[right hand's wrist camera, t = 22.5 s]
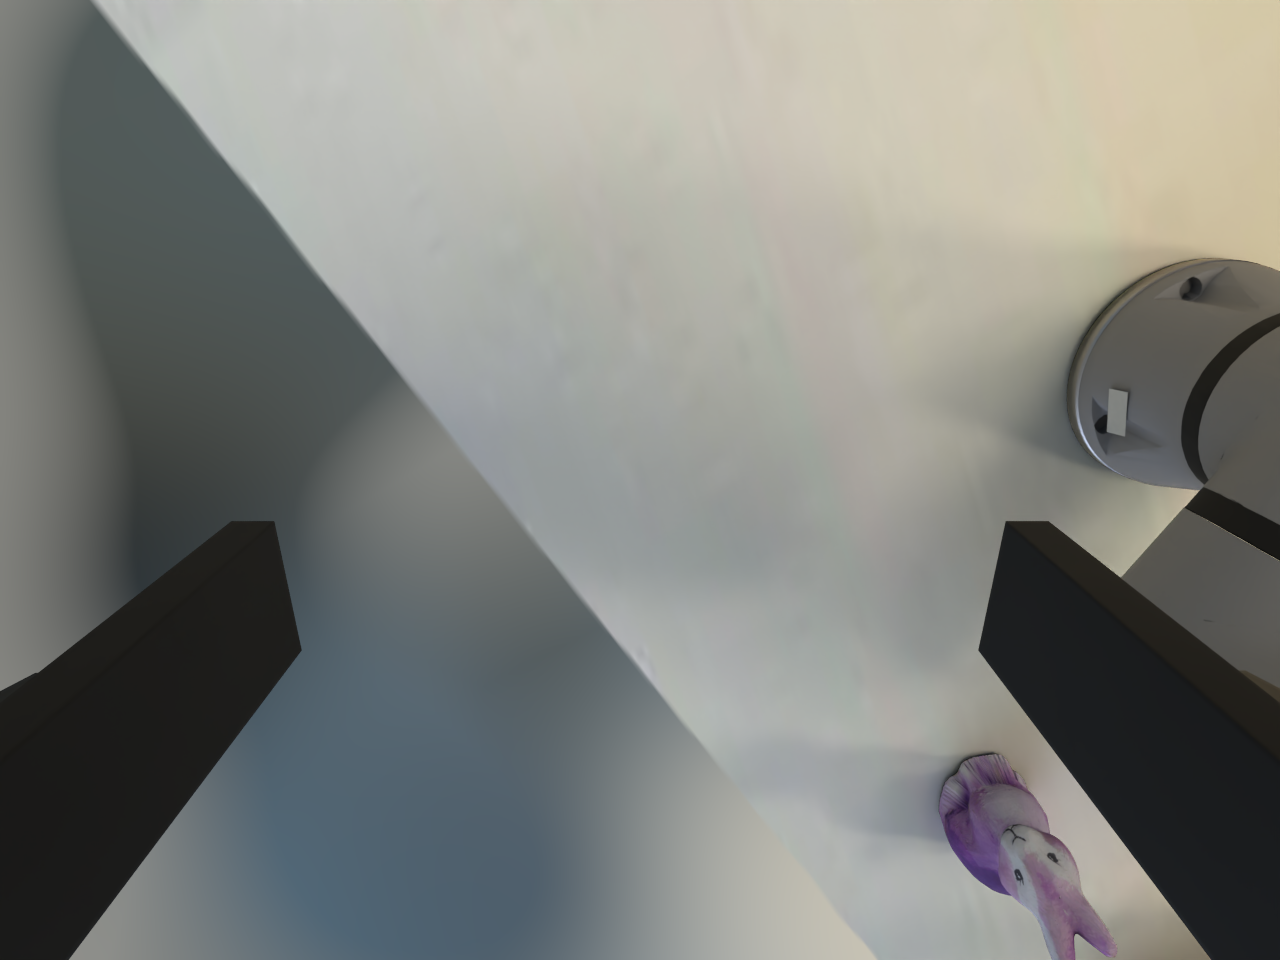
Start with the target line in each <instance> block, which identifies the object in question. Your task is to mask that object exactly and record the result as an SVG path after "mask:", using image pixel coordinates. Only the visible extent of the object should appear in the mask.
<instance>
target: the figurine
mask: <svg viewBox="0 0 1280 960" xmlns="http://www.w3.org/2000/svg"><path fill="white" fill-rule="evenodd" d="M942 790H943V791H942V793H941V797H940V804H939V813H940V816H941V820H942V823H943V826H944V830H945V833H946V835H947V838H948V841H949V843H950V845H951V847H952V849H953V851H954V852H955V854H956V855H957V857H958V858H959V859H960V861H961V862H962V863H963V864H964V866H965V867H966V868H967V869H968V870H969V871H970V873H971V874H972V875H973V876H974V877H975V878H977V879H978V880H979V881H980V882H981V883H983V884H984V885H986V886H987V887H989V888H990V889H992V890H994V891H996V892H999V893H1002V894H1006V895H1011V896H1013V897H1014V898H1015V899H1016V900H1017V901H1018V902H1020V903H1021V904H1022V905H1024V906H1025V907H1026V908H1027V909H1029V910H1030V911H1031V912H1032V913H1033V914H1034V915H1035V917H1036V918H1037V919H1038V922H1039V924H1040V926H1041V929H1042V932H1043V935H1044V938H1045V941H1046V945H1047V948H1048V950H1049V953H1050V955H1051V958H1052V960H1075V949H1074V936H1075V934H1079V935H1080V936H1081V937H1082V938H1084V939H1085V940H1086V941H1087V942H1089V943H1090V944H1091V945H1092V946H1094V947H1095V948H1096V949H1098V950H1099V951H1100V952H1102V953H1103V954H1104V955H1106V956H1108V957H1115V956H1116V954H1117V945H1116V943H1115V941H1114V938H1113V937H1112V936H1111V934H1110V931H1109V930H1108V928H1107V927H1106V926H1105V924H1104V923H1103V921H1102V920H1101V919H1100V917H1099V916H1098V914H1097V913H1096V912H1095V910H1094V909H1093V908H1092V907H1091V905H1090V904H1089V902H1088V901H1087V899H1086V898H1085V897H1084V895H1083V892H1082V890H1081V883H1080V877H1079V872H1078V868H1077V865H1076V863H1075V860H1074V858H1073V856H1072V854H1071V853H1070V851H1069V850H1068V848H1067V847H1066V846H1065V845H1064V844H1063V843H1062V842H1061V841H1060V840H1059V839H1058V838H1056V837H1055V836H1053V835H1051V834H1050V831H1049V825H1048V819H1047V816H1046V814H1045V812H1044V811H1043V809H1042V807H1041V806H1040V804H1039V803H1038V801H1037V800H1036V798H1035V797H1034V796H1033V795H1032V794H1031V793H1030V792H1029V791H1028V789H1027V787H1026V784H1025V782H1024V779H1023V778H1022V777H1021V776H1020V775H1019V774H1018V773H1017V772H1016V771H1013V770H1012V769H1011V767H1010V765H1009V762H1008V761H1007V760H1006V758H1004V757H1003V756H1002V755H997V754H992V755H985V756H979V757H973V758H971V759H968V760H967V761H964V762H963V763H962V764H961V766H960V768H959V770H958V772H957V773H956V774H955V775H954V776H951V777H950V778H949V779H948V780H947V781H946V782H945V785H944V786H943V789H942Z"/></svg>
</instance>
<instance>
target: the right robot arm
mask: <svg viewBox="0 0 1280 960" xmlns="http://www.w3.org/2000/svg"><path fill="white" fill-rule="evenodd" d="M1067 408H1068V414H1069V420H1070V423H1071V426H1072V429H1073V431H1074V433H1075V435H1076V437H1077V439H1078V441H1079V442H1080V444H1081V445H1082V447H1083V448H1084V449H1085V450H1086V451H1087V453H1089V454H1090V455H1091V456H1092V457H1093V458H1094V459H1095V460H1097V461H1098V462H1099V463H1101V464H1102V465H1104V466H1106V467H1108V468H1109V469H1111V470H1113V471H1115V472H1116V473H1118V474H1120V475H1122V476H1125V477H1127V478H1130V479H1133V480H1136V481H1139V482H1142V483H1146V484H1150V485H1156V486H1164V487H1173V488H1183V489H1192V490H1200V491H1199V492H1198V493H1197V494H1196V495H1195V497H1194V498H1193V499H1192V500H1191V501H1190V502H1189V503H1188V505H1187V506H1186V507H1185V508H1183V509H1182V510H1181V511H1180V512H1179V514H1178V515H1177V516H1176V517H1175V518H1174V519H1173V520H1172V521H1171V523H1170V524H1169V525H1168V526H1167V527H1166V528H1165V529H1164V530H1163V531H1162V533H1161V534H1160V535H1159V536H1158V537H1157V538H1156V539H1155V540H1154V542H1153V543H1152V544H1151V545H1150V546H1149V547H1148V548H1147V549H1146V550H1145V552H1144V553H1143V554H1142V555H1141V556H1140V557H1139V558H1138V559H1137V560H1136V562H1135V563H1134V564H1133V565H1132V566H1131V567H1130V568H1129V569H1128V571H1127V572H1126V573H1125V574H1124V575H1123V576H1122V577H1121V578H1120V577H1119V576H1118V575H1116V574H1115V573H1114V572H1112V571H1111V570H1110V569H1109V568H1107V567H1106V566H1105V565H1104V564H1102V563H1101V562H1100V561H1098V560H1097V559H1096V558H1095V557H1093V556H1092V555H1091V554H1090V553H1088V552H1087V551H1086V550H1084V549H1083V548H1082V547H1081V546H1079V545H1078V544H1077V543H1076V542H1074V541H1073V540H1072V539H1070V538H1069V537H1068V536H1067V535H1065V534H1064V533H1063V532H1061V531H1060V530H1059V529H1058V528H1056V527H1055V526H1054V525H1053V524H1051V523H1050V522H1049V521H1006V523H1005V527H1004V532H1003V537H1002V542H1001V546H1000V551H999V556H998V560H997V565H996V570H995V574H994V579H993V584H992V589H991V593H990V598H989V603H988V607H987V612H986V617H985V621H984V626H983V631H982V636H981V640H980V645H979V652H980V653H981V654H982V656H983V657H984V658H985V660H986V661H987V662H988V664H989V665H990V666H991V668H992V669H993V670H994V672H995V673H996V674H997V676H998V677H999V678H1000V680H1001V681H1002V682H1003V684H1004V685H1005V686H1006V688H1007V689H1008V690H1009V692H1010V693H1011V694H1012V696H1013V697H1014V698H1015V700H1016V701H1017V702H1018V704H1019V705H1020V706H1021V708H1022V709H1023V710H1024V712H1025V713H1026V714H1027V716H1028V717H1029V718H1030V720H1031V721H1032V722H1033V724H1034V725H1035V726H1036V727H1037V729H1038V730H1039V731H1040V733H1041V734H1042V735H1043V737H1044V738H1045V739H1046V741H1047V742H1048V743H1049V745H1050V746H1051V747H1052V749H1053V750H1054V751H1055V753H1056V754H1057V755H1058V757H1059V758H1060V759H1061V761H1062V762H1063V763H1064V765H1065V766H1066V767H1067V769H1068V770H1069V771H1070V773H1071V774H1072V775H1073V777H1074V778H1075V779H1076V781H1077V782H1078V783H1079V785H1080V786H1081V787H1082V789H1083V790H1084V791H1085V793H1086V794H1087V795H1088V797H1089V798H1090V799H1091V801H1092V802H1093V803H1094V805H1095V806H1096V807H1097V808H1098V810H1099V811H1100V812H1101V814H1102V815H1103V816H1104V818H1105V819H1106V820H1107V822H1108V823H1109V824H1110V826H1111V827H1112V828H1113V830H1114V831H1115V832H1116V834H1117V835H1118V836H1119V838H1120V839H1121V840H1122V842H1123V843H1124V844H1125V846H1126V847H1127V848H1128V850H1129V851H1130V852H1131V854H1132V855H1133V856H1134V858H1135V859H1136V860H1137V862H1138V863H1139V864H1140V866H1141V867H1142V868H1143V870H1144V871H1145V872H1146V874H1147V875H1148V876H1149V878H1150V879H1151V880H1152V882H1153V883H1154V884H1155V886H1156V887H1157V888H1158V890H1159V891H1160V892H1161V893H1162V895H1163V896H1164V897H1165V899H1166V900H1167V901H1168V903H1169V904H1170V905H1171V907H1172V908H1173V909H1174V911H1175V912H1176V913H1177V915H1178V916H1179V917H1180V919H1181V920H1182V921H1183V923H1184V924H1185V925H1186V927H1187V928H1188V929H1189V931H1190V932H1191V933H1192V935H1193V936H1194V937H1195V939H1196V940H1197V941H1198V943H1199V944H1200V945H1201V947H1202V948H1203V949H1204V951H1205V952H1206V953H1207V955H1208V956H1209V957H1210V959H1211V960H1280V271H1278V270H1275V269H1272V268H1270V267H1267V266H1263V265H1260V264H1257V263H1253V262H1248V261H1241V260H1231V259H1221V258H1207V259H1197V260H1192V261H1187V262H1182V263H1179V264H1176V265H1172V266H1170V267H1167V268H1164V269H1162V270H1160V271H1158V272H1155V273H1153V274H1151V275H1149V276H1148V277H1146V278H1144V279H1142V280H1141V281H1139V282H1137V283H1136V284H1135V285H1133V286H1132V287H1130V288H1129V289H1127V290H1126V291H1125V292H1124V293H1122V294H1121V295H1120V296H1119V297H1118V298H1116V299H1115V300H1114V301H1113V302H1112V303H1111V304H1110V305H1109V306H1108V307H1107V308H1106V309H1105V310H1104V312H1103V313H1102V314H1101V315H1100V316H1099V317H1098V319H1097V320H1096V321H1095V322H1094V324H1093V325H1092V326H1091V328H1090V330H1089V331H1088V333H1087V334H1086V336H1085V337H1084V339H1083V341H1082V343H1081V345H1080V347H1079V349H1078V351H1077V354H1076V356H1075V358H1074V361H1073V364H1072V367H1071V371H1070V375H1069V380H1068V388H1067ZM1189 510H1190V511H1189ZM1198 515H1199V516H1198ZM1200 516H1201V517H1200ZM1202 517H1203V518H1202ZM1204 518H1205V519H1206V520H1205V519H1204ZM1207 520H1208V521H1207ZM1209 521H1210V522H1209ZM1211 522H1212V523H1211ZM1213 523H1214V524H1216V525H1218V526H1219V527H1218V526H1216V525H1214V524H1213ZM1220 527H1221V528H1223V529H1224V530H1223V529H1221V528H1220ZM1225 530H1226V531H1225ZM1227 531H1228V532H1230V533H1231V534H1230V533H1228V532H1227ZM1232 534H1233V535H1232ZM1234 535H1235V536H1234ZM1236 536H1237V537H1239V538H1241V539H1242V540H1241V539H1239V538H1237V537H1236ZM1243 540H1244V541H1246V542H1248V543H1249V544H1248V543H1246V542H1244V541H1243ZM1250 544H1251V545H1250ZM1252 545H1253V546H1254V547H1253V546H1252ZM1255 547H1256V548H1255ZM1257 548H1258V549H1257ZM1259 549H1260V550H1261V551H1260V550H1259ZM1262 551H1263V552H1262ZM1264 552H1265V553H1264ZM1266 553H1267V554H1269V555H1271V556H1272V557H1271V556H1269V555H1267V554H1266ZM1273 557H1274V558H1273ZM1275 558H1276V559H1278V560H1279V561H1278V560H1276V559H1275ZM300 652H301V645H300V640H299V636H298V631H297V626H296V622H295V617H294V612H293V607H292V603H291V598H290V593H289V589H288V584H287V579H286V574H285V570H284V565H283V560H282V556H281V551H280V546H279V542H278V537H277V532H276V528H275V523H274V521H232V522H230V523H229V524H227V525H226V526H225V527H224V528H222V529H221V530H220V531H219V532H217V533H216V534H215V535H213V536H212V537H211V538H210V539H208V540H207V541H206V542H205V543H203V544H202V545H201V546H199V547H198V548H197V549H196V550H194V551H193V552H192V553H191V554H189V555H188V556H187V557H185V558H184V559H183V560H182V561H180V562H179V563H178V564H177V565H175V566H174V567H173V568H171V569H170V570H169V571H168V572H166V573H165V574H164V575H163V576H161V577H160V578H159V579H157V580H156V581H155V582H153V583H152V584H151V585H150V586H148V587H147V588H146V589H145V590H143V591H142V592H141V593H140V594H138V595H137V596H136V597H134V598H133V599H132V600H131V601H129V602H128V603H127V604H125V605H124V606H123V607H122V608H120V609H119V610H118V611H117V612H115V613H114V614H113V615H111V616H110V617H109V618H108V619H106V620H105V621H104V622H102V623H101V624H100V625H99V626H97V627H96V628H95V629H94V630H92V631H91V632H90V633H88V634H87V635H86V636H85V637H83V638H82V639H81V640H80V641H78V642H77V643H76V644H74V645H73V646H72V647H71V648H69V649H68V650H67V651H66V652H64V653H63V654H62V655H60V656H59V657H58V658H57V659H55V660H54V661H53V662H52V663H50V664H49V665H48V666H46V667H45V668H44V669H43V670H41V671H40V672H39V673H34V674H32V675H31V676H29V677H27V678H25V679H23V680H21V681H19V682H17V683H15V684H13V685H11V686H9V687H7V688H6V689H4V690H2V691H0V960H69V959H70V957H71V956H72V955H73V953H74V952H75V951H76V949H77V948H78V947H79V945H80V944H81V943H82V941H83V940H84V939H85V937H86V936H87V935H88V933H89V932H90V931H91V929H92V928H93V927H94V925H95V924H96V923H97V921H98V920H99V919H100V917H101V916H102V915H103V913H104V912H105V911H106V909H107V908H108V907H109V905H110V904H111V903H112V901H113V900H114V899H115V897H116V896H117V895H118V893H119V892H120V891H121V890H122V888H123V887H124V886H125V884H126V883H127V882H128V880H129V879H130V877H131V876H132V875H133V873H134V872H135V871H136V870H137V868H138V867H139V866H140V864H141V863H142V861H143V860H144V859H145V858H146V856H147V855H148V854H149V852H150V851H151V850H152V848H153V847H154V846H155V844H156V843H157V842H158V840H159V839H160V838H161V836H162V835H163V834H164V832H165V831H166V830H167V828H168V827H169V826H170V824H171V823H172V822H173V820H174V819H175V818H176V816H177V815H178V814H179V812H180V811H181V810H182V808H183V807H184V806H185V805H186V803H187V802H188V801H189V799H190V798H191V797H192V795H193V794H194V792H195V791H196V790H197V789H198V787H199V786H200V785H201V783H202V782H203V781H204V779H205V778H206V777H207V775H208V774H209V773H210V771H211V770H212V769H213V767H214V766H215V765H216V763H217V762H218V761H219V759H220V758H221V757H222V755H223V754H224V753H225V751H226V750H227V749H228V747H229V746H230V745H231V743H232V742H233V741H234V739H235V738H236V737H237V735H238V734H239V733H240V731H241V730H242V729H243V727H244V726H245V725H246V723H247V722H248V721H249V719H250V718H251V717H252V716H253V714H254V713H255V712H256V710H257V709H258V708H259V706H260V705H261V704H262V702H263V701H264V700H265V698H266V697H267V696H268V694H269V693H270V692H271V690H272V689H273V688H274V686H275V685H276V684H277V682H278V681H279V680H280V678H281V677H282V676H283V674H284V673H285V672H286V670H287V669H288V668H289V666H290V665H291V664H292V662H293V661H294V660H295V658H296V657H297V656H298V654H299V653H300Z"/></svg>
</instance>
